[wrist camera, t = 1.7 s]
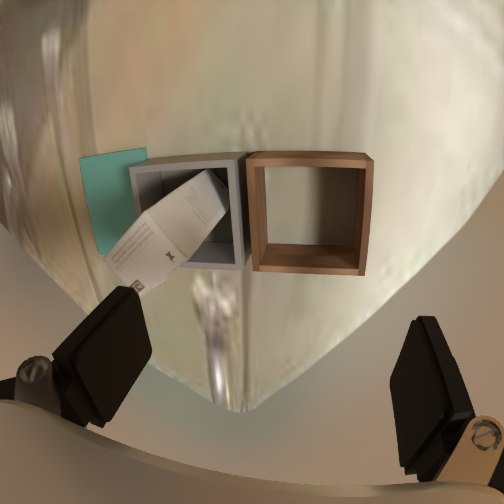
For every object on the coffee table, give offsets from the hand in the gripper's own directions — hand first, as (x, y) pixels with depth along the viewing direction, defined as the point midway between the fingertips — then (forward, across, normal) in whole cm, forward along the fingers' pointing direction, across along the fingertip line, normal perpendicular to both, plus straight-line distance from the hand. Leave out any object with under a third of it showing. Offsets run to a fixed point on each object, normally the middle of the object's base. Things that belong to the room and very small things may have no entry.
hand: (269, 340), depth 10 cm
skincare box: (+20, +9, +1) cm, 22 cm away
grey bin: (+20, +9, +1) cm, 22 cm away
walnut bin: (+20, -1, +1) cm, 20 cm away
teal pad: (+20, +19, +2) cm, 28 cm away
